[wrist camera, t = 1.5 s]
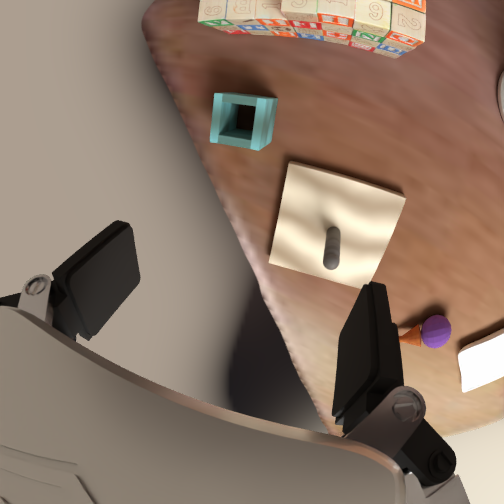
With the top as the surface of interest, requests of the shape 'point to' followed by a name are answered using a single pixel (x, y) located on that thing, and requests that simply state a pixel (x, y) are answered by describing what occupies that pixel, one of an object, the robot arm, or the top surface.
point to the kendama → (429, 332)
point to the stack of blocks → (325, 21)
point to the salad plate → (482, 361)
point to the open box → (227, 120)
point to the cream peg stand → (333, 225)
